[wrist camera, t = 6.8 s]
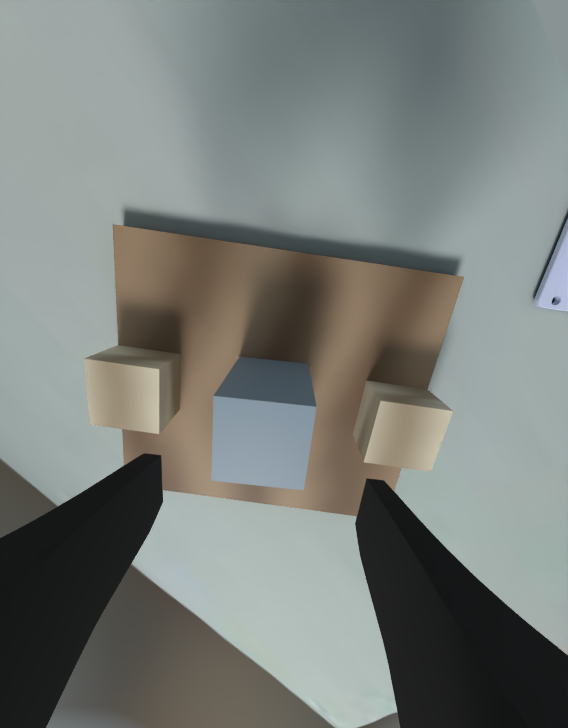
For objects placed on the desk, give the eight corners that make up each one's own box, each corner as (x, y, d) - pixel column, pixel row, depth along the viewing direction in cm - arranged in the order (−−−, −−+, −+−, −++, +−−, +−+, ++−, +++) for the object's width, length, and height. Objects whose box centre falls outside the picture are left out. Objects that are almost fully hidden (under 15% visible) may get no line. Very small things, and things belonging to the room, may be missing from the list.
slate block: (308, 363, 17) (316, 406, 12) (300, 424, 19) (303, 490, 13) (239, 356, 17) (213, 396, 12) (236, 418, 19) (211, 480, 13)
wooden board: (453, 276, 16) (502, 276, 13) (380, 509, 22) (398, 558, 18) (123, 227, 16) (71, 212, 12) (132, 475, 22) (98, 518, 18)
